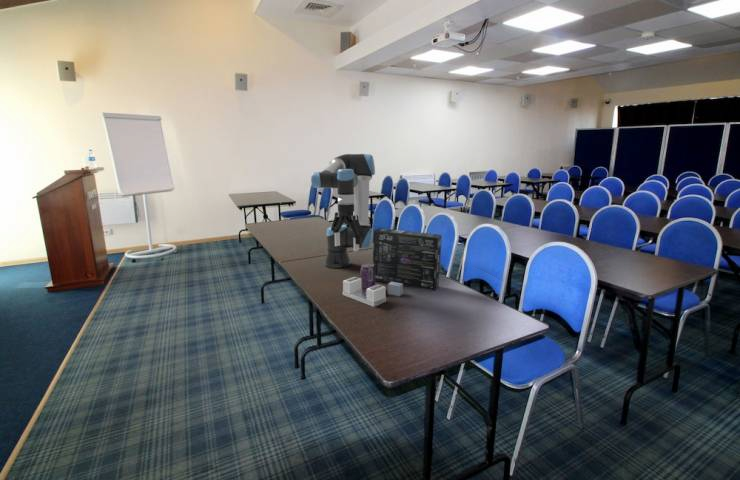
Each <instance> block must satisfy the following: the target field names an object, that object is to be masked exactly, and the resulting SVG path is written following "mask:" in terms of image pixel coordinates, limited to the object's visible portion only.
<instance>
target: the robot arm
mask: <svg viewBox="0 0 740 480" xmlns="http://www.w3.org/2000/svg"><path fill="white" fill-rule="evenodd" d="M375 167H376V166H375V160H374V156H373V155H372V154H369V153H368V154H367V153H345V154H341V155H338V156H336V157H334V158H333V159H332V160H331V161H330V162H329V164H328V165H327V166H326V167H325V168H324V169H323V170H321V172H320V171H314V172H312V173H311V175H310V176H311V177H310V181H311V182H310V183H311V186H312V188H315V189H337V212H334V218H333V221H332V224H331V226H329V227H328V228H327V229H326V248H327V249H326V250H327V251H326V252H327V253H326V256H325V259H324V266H325V267H326V266H327V267H326V268H330V267H331V268H330V269H343V268H342V267H344V268H346V267H349V266H350V265H351V259H350V256H349V253H348V248H349V249H353V252H358V251H360V249H361V250H362V249H370V248H371V246H372V244H373V231H374V229H373V228H371V224H370V222H369V209H370V207H369V205H370V181H371V180H372V179H373V176H375V174H376V169H375ZM348 226H349V227H348Z"/></svg>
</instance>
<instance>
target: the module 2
mask: <svg viewBox="0 0 740 480" xmlns="http://www.w3.org/2000/svg"><path fill="white" fill-rule="evenodd" d="M386 295H387V294H386V286H385V285H382V284H380V283H379V284H375V286H372V287H370V288H367V289H366V300H369V301H372V302H376V301H378V300H380V299H383V298H385V297H386ZM386 298H387V297H386Z"/></svg>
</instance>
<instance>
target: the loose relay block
mask: <svg viewBox="0 0 740 480" xmlns="http://www.w3.org/2000/svg"><path fill="white" fill-rule="evenodd" d="M403 294H404V285H403V284H402V283H397V282H390V283H387V295H390V296H395V297H401V296H402V295H403Z"/></svg>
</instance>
